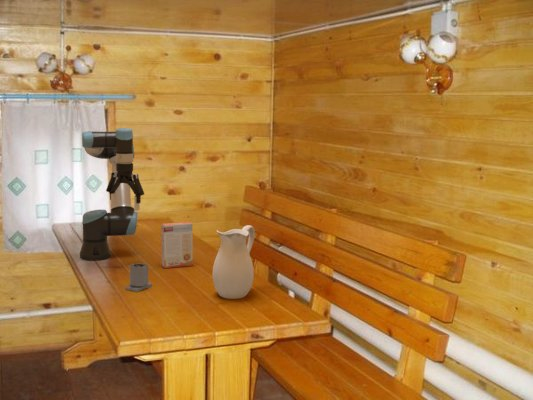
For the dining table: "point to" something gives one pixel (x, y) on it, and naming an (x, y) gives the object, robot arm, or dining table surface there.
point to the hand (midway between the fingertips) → (125, 208)
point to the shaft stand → (138, 288)
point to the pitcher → (234, 263)
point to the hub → (138, 274)
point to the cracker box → (177, 244)
